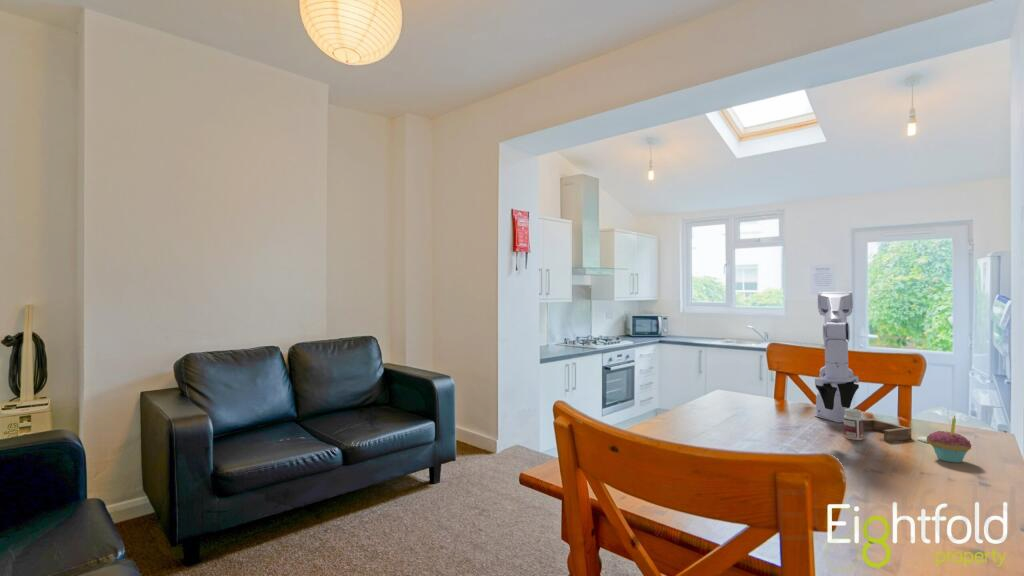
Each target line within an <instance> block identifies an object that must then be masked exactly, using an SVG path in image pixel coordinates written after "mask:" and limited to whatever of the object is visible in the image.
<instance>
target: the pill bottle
mask: <svg viewBox="0 0 1024 576" xmlns="http://www.w3.org/2000/svg"><path fill="white" fill-rule="evenodd" d="M845 414H846V415H845V416H844V422H843V436H844V437H845V438H846V439H848V440H853V441H861V440H863V439H864V431H863V420H864V418H863V417H862V410H861V409H857V408H850V409H845Z"/></svg>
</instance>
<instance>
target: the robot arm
mask: <svg viewBox="0 0 1024 576" xmlns="http://www.w3.org/2000/svg"><path fill="white" fill-rule="evenodd" d="M853 299H854V297H853V292H852V291H850V290H849V291H819V292H817V308H818V313H819V315H820V316H823V317H824V323H823V324H822V338H823V346H824V366H822V367H820V369H819V377H817V378H816V377H815V378H814V385H815V388H816V390H818V391H817V392H818V393H817V394H816V395H815V396H816V397H815V414H814V416H815V417H818V418H821V419H825V420H828V421H831V422H835V423H839V424H840V423H844V416H845V415H846V414H845V409H851V405H852V401H853V398H854V395H856V392H857V391H858V389H860V387H859V386H860V385H859V384H858V383H859V381H860V380H859V375H854V372H853V370H852V369H851V368H849V342H850V339H851V338H850V324H849V321H848V317H849V316H851V315H852V313H853V307H854V300H853Z"/></svg>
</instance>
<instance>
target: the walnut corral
mask: <svg viewBox="0 0 1024 576" xmlns="http://www.w3.org/2000/svg"><path fill="white" fill-rule="evenodd" d="M872 430H875V431H878V432H880V433H881V432H882V433H883V441H885V442H889V443H890V442H895V441H904V440H911V439H912V428H911V427H907V426H903V425H900V424H894V423H892V422H887V421H883V420H879V419H876V418H867V419H863V432H864V431H872Z"/></svg>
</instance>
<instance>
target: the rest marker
mask: <svg viewBox="0 0 1024 576" xmlns="http://www.w3.org/2000/svg"><path fill="white" fill-rule="evenodd" d="M916 439H917V440H918V441H919V442H922V443H924V444H929V443H928V442H927V436H918V437H916Z"/></svg>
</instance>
